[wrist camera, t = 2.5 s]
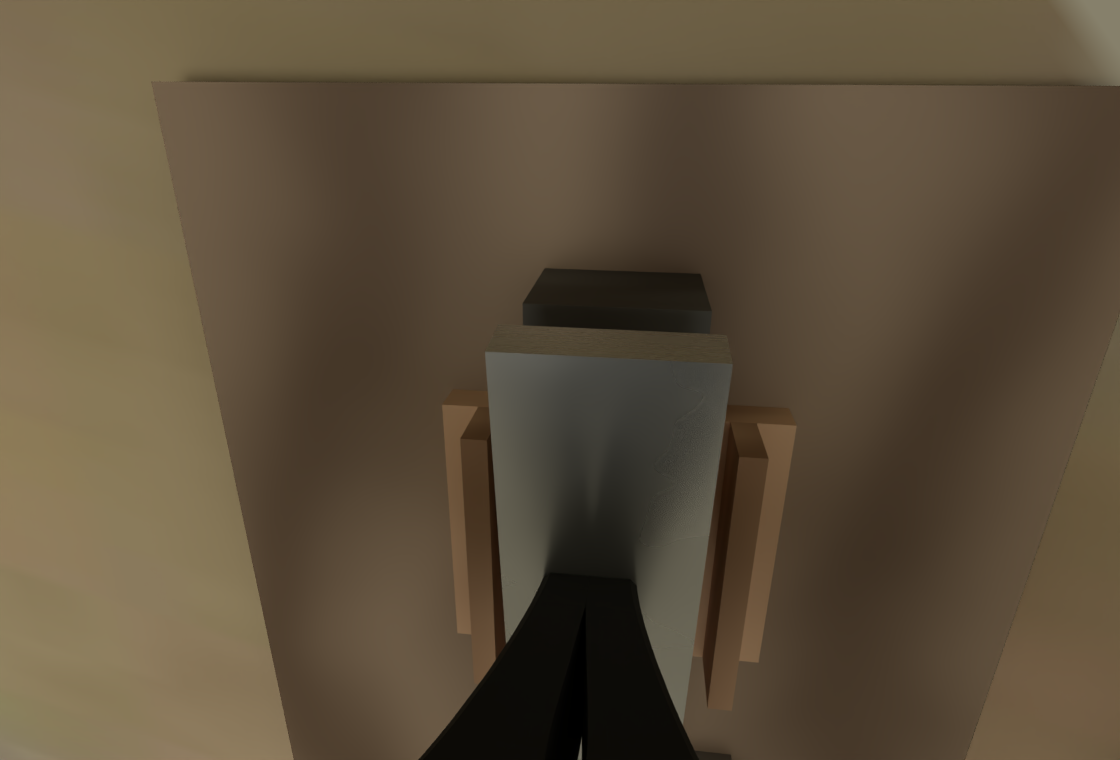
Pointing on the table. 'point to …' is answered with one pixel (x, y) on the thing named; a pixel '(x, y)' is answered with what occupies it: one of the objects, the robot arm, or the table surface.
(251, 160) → the strap board
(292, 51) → the table surface
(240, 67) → the table surface
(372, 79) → the table surface
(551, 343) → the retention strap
